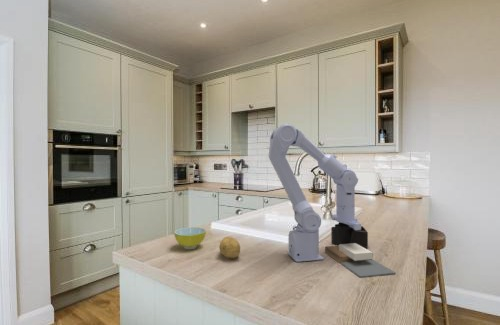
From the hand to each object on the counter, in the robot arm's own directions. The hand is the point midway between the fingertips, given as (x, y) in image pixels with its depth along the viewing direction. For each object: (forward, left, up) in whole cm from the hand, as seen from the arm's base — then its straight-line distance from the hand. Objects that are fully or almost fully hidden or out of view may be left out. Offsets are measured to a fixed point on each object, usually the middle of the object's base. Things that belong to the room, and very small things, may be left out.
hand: (345, 246), depth 90 cm
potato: (-38, +7, -3) cm, 39 cm away
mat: (0, -12, -3) cm, 12 cm away
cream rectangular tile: (0, -5, -1) cm, 6 cm away
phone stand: (+13, +8, 0) cm, 15 cm away
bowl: (-51, +19, -3) cm, 55 cm away
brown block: (0, -1, -3) cm, 3 cm away
